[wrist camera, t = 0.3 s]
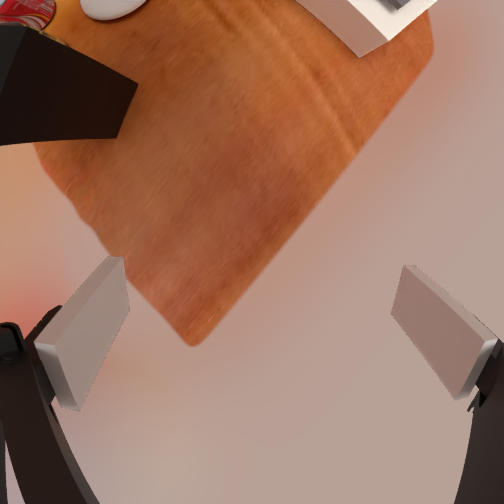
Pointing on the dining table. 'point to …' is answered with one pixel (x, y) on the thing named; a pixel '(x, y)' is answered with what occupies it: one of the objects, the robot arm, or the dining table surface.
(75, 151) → the dining table surface
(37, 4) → the soda can
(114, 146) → the dining table surface
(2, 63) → the tissue box
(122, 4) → the flower in vase
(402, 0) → the rocker outer
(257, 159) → the dining table surface
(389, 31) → the switch box
